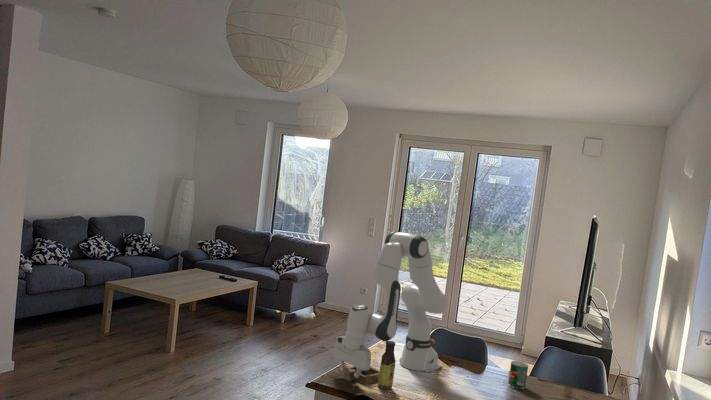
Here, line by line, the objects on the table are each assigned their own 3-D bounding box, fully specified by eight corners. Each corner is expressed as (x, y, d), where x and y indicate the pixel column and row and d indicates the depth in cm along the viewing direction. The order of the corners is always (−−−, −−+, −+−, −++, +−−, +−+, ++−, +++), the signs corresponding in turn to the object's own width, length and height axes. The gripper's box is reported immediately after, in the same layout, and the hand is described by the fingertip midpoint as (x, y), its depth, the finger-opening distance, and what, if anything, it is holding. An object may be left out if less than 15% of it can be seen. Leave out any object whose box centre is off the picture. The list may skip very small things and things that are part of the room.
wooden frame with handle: (364, 370, 261) (365, 361, 261) (383, 379, 252) (384, 371, 252) (337, 375, 250) (339, 366, 250) (357, 385, 241) (358, 376, 241)
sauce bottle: (391, 391, 239) (397, 345, 238) (376, 388, 240) (382, 342, 240) (392, 386, 246) (398, 341, 245) (378, 383, 247) (384, 338, 246)
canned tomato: (504, 384, 269) (507, 361, 269) (514, 382, 274) (517, 360, 274) (518, 390, 263) (521, 367, 263) (528, 388, 268) (531, 365, 268)
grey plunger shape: (364, 373, 257) (367, 347, 256) (373, 378, 252) (377, 351, 252) (354, 375, 253) (358, 349, 252) (363, 380, 248) (367, 353, 248)
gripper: (376, 349, 240) (371, 381, 241) (344, 335, 255) (339, 365, 255) (365, 350, 236) (360, 383, 236) (333, 336, 251) (329, 367, 251)
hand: (349, 373), depth 246 cm, fingers open, 7 cm apart
